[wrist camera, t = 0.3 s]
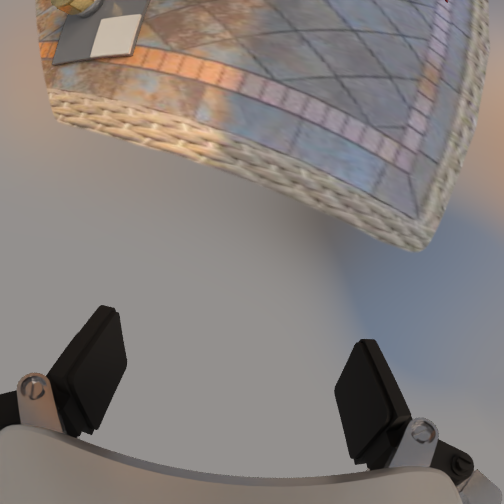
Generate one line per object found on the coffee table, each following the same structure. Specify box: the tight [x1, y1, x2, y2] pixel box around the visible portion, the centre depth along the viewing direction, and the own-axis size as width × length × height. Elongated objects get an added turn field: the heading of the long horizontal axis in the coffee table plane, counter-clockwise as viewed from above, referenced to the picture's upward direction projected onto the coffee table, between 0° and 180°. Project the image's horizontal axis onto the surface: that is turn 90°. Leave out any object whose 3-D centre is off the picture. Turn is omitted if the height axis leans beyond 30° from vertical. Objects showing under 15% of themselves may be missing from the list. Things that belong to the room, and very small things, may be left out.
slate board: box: [52, 0, 150, 65], centre depth 27 cm, size 14×16×1 cm
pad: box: [90, 14, 142, 58], centre depth 28 cm, size 7×7×1 cm
